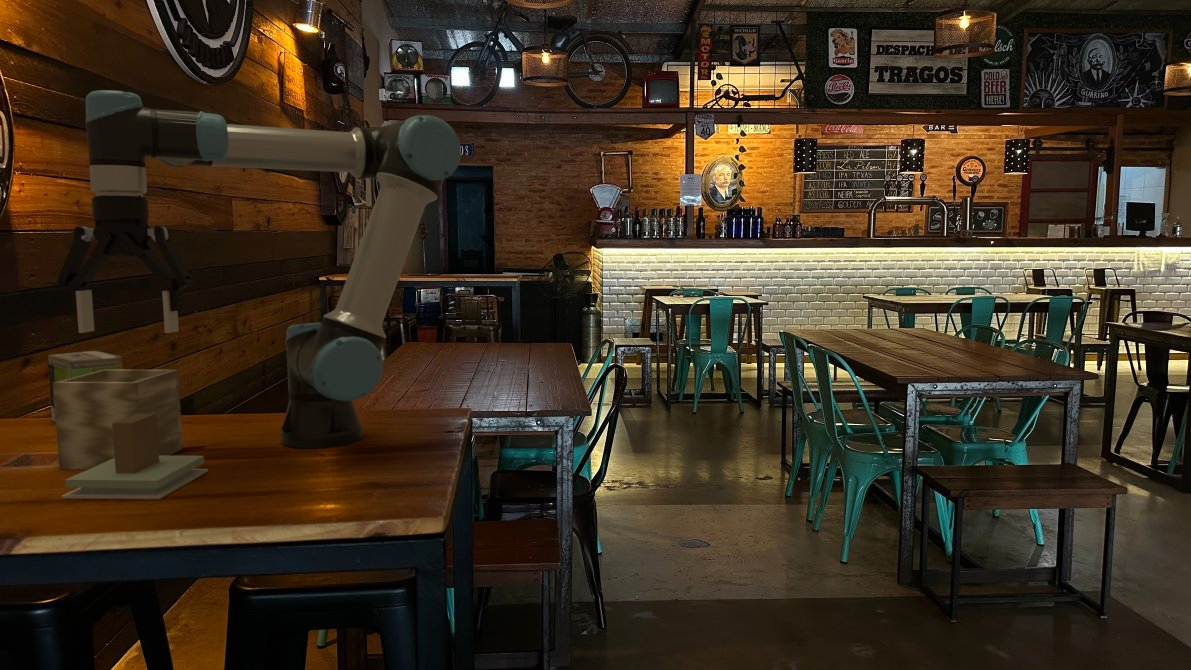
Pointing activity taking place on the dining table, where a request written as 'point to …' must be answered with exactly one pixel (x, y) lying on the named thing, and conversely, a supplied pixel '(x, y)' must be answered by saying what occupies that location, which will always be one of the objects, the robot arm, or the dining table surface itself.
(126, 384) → the crate
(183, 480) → the mat
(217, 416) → the dining table surface
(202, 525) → the dining table surface
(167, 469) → the lid
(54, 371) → the tea box
